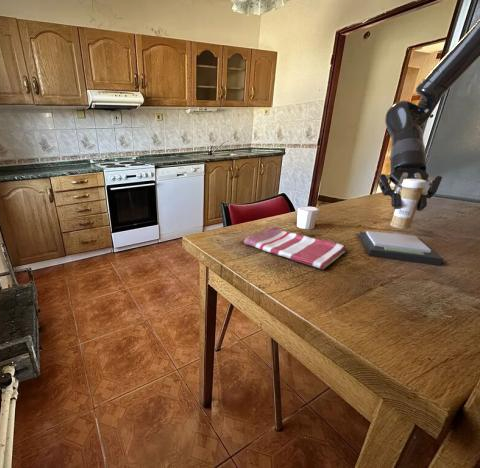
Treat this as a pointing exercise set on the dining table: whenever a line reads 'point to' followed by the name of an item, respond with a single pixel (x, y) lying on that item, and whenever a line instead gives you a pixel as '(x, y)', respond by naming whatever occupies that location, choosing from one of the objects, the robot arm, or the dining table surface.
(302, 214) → the white cup
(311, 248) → the dish towel
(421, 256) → the scale
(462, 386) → the dining table surface
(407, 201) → the sprinkles bottle
